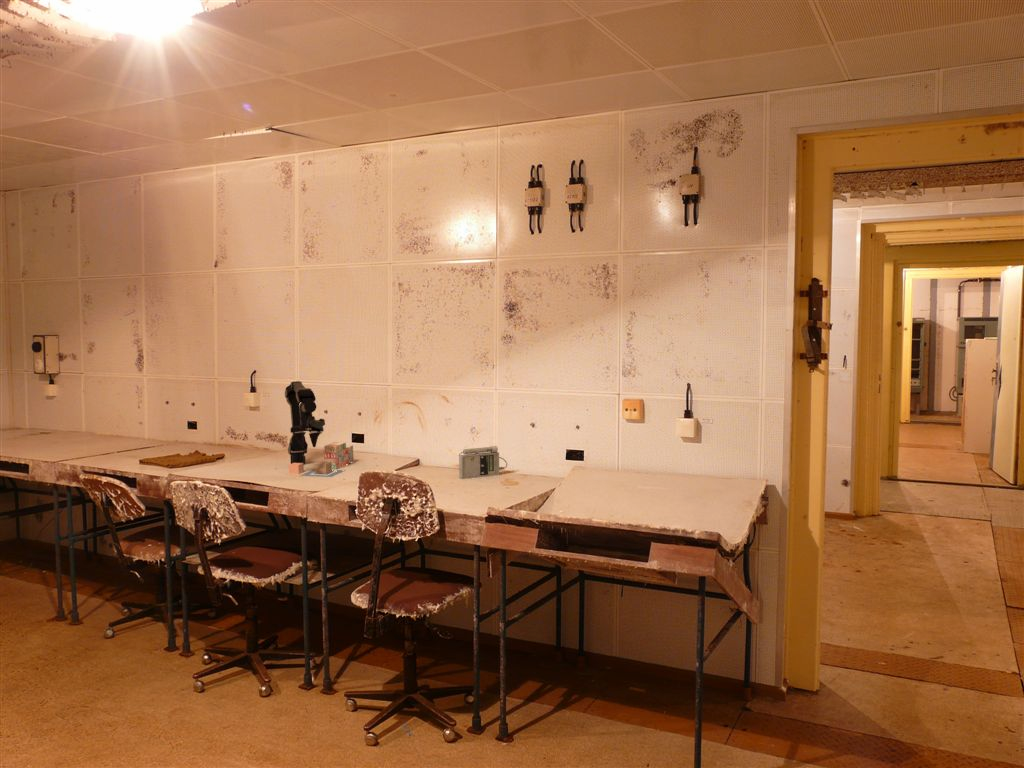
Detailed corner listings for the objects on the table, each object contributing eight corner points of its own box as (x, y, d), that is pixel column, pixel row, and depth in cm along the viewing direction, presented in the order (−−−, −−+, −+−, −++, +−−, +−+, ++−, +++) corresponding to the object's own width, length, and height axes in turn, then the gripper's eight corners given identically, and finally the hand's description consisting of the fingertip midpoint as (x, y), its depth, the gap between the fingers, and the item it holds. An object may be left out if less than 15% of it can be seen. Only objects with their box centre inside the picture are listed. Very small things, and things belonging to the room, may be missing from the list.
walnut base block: (314, 473, 377) (314, 463, 376) (320, 471, 382) (320, 461, 382) (326, 474, 375) (325, 464, 375) (331, 472, 381) (331, 461, 381)
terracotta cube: (289, 475, 378) (288, 464, 378) (294, 473, 383) (293, 462, 382) (298, 475, 377) (298, 465, 376) (303, 473, 382) (303, 463, 381)
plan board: (299, 476, 373) (299, 475, 373) (315, 470, 388) (315, 469, 388) (331, 478, 369) (331, 476, 369) (345, 471, 385) (345, 470, 385)
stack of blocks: (342, 462, 410) (341, 439, 409) (353, 462, 408) (353, 439, 407) (324, 470, 389) (323, 445, 388) (336, 470, 388) (335, 446, 387)
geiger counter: (461, 449, 364) (510, 445, 375) (456, 447, 369) (504, 443, 381) (462, 479, 365) (510, 474, 376) (456, 477, 370) (504, 472, 382)
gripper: (308, 412, 368) (310, 445, 366) (331, 413, 385) (334, 445, 383) (288, 415, 372) (291, 448, 370) (312, 416, 389) (314, 447, 387)
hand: (308, 447), depth 378 cm, fingers open, 9 cm apart
